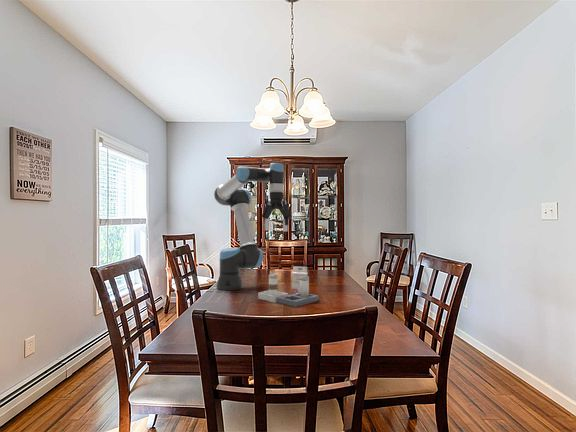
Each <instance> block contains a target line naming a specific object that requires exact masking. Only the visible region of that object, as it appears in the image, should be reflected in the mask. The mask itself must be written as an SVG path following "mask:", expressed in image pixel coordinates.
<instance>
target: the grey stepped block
mask: <svg viewBox="0 0 576 432" xmlns="http://www.w3.org/2000/svg"><path fill="white" fill-rule="evenodd" d="M308 275H309V273H308V266H294V265H293V268H292V273H291V294H295V293H299V292H300V276H308Z"/></svg>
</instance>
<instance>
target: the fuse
mask: <svg viewBox="0 0 576 432" xmlns="http://www.w3.org/2000/svg"><path fill="white" fill-rule="evenodd" d="M309 286H310V276H300V296H301V297H309V294H310V293H309V291H310V287H309Z"/></svg>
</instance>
